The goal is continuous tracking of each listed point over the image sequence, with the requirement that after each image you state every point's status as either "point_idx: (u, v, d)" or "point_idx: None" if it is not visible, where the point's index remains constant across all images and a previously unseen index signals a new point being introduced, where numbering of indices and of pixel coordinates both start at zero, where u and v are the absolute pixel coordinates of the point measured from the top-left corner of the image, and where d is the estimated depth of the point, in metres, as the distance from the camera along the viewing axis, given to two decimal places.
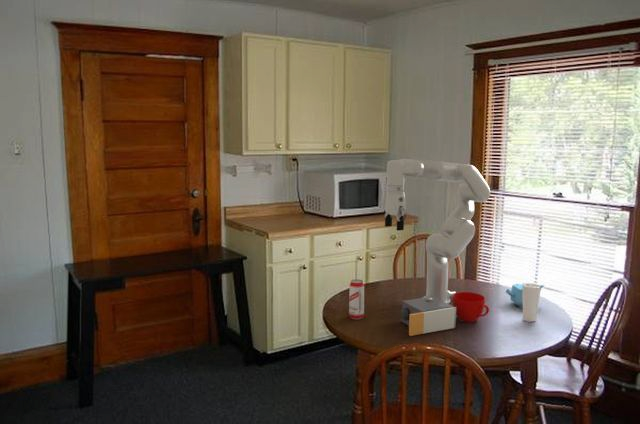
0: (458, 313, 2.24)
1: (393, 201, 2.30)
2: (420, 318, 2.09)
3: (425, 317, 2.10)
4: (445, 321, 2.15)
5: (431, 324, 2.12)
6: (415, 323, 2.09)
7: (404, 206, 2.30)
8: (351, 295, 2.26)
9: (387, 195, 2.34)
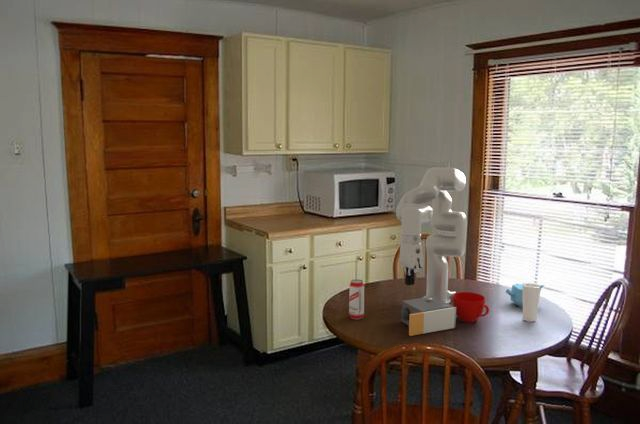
0: (458, 313, 2.24)
1: (409, 253, 2.06)
2: (420, 318, 2.09)
3: (425, 317, 2.10)
4: (445, 321, 2.15)
5: (431, 324, 2.12)
6: (415, 323, 2.09)
7: (421, 258, 2.07)
8: (351, 295, 2.26)
9: (402, 245, 2.11)
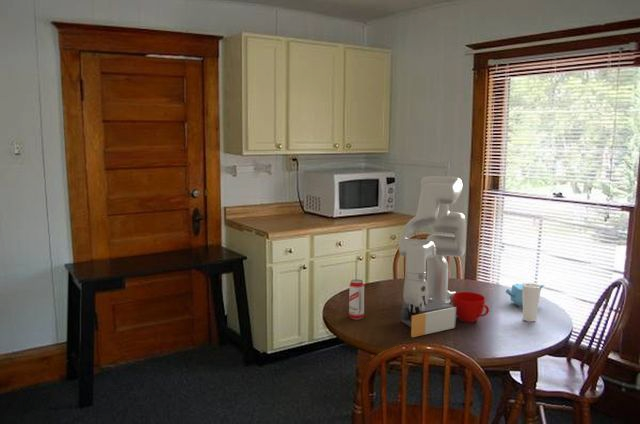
0: (458, 313, 2.24)
1: (414, 290, 2.05)
2: (422, 319, 2.08)
3: (427, 318, 2.09)
4: (446, 321, 2.14)
5: (432, 325, 2.11)
6: (417, 324, 2.08)
7: (426, 295, 2.06)
8: (351, 295, 2.26)
9: (406, 282, 2.09)
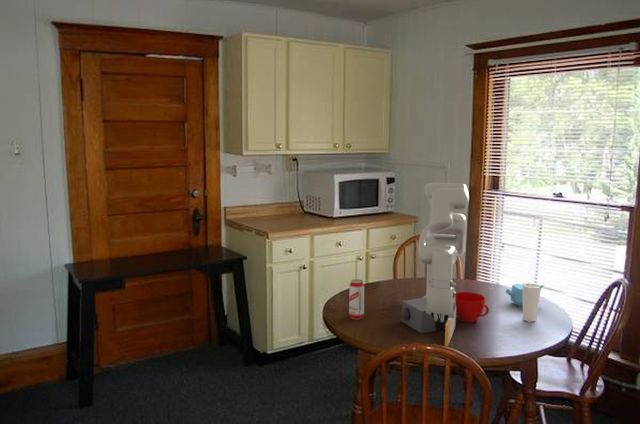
0: (458, 313, 2.24)
1: (446, 298, 1.96)
2: (449, 326, 2.01)
3: (450, 324, 2.03)
4: (453, 323, 2.12)
5: (451, 330, 2.06)
6: (448, 332, 1.99)
7: (455, 302, 1.99)
8: (351, 295, 2.26)
9: (432, 291, 1.98)
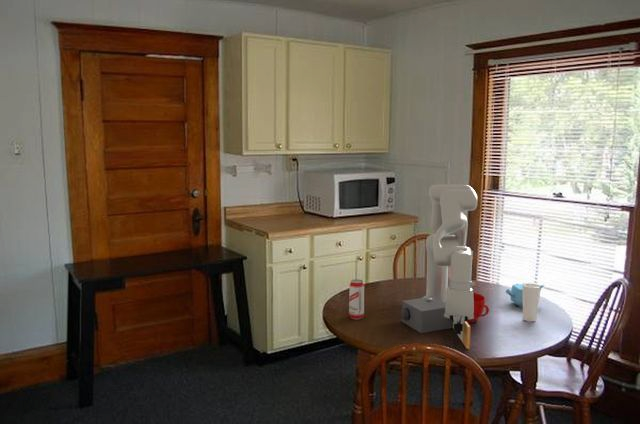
0: None
1: (468, 300, 1.94)
2: None
3: None
4: None
5: None
6: None
7: None
8: (351, 295, 2.26)
9: (453, 294, 1.95)
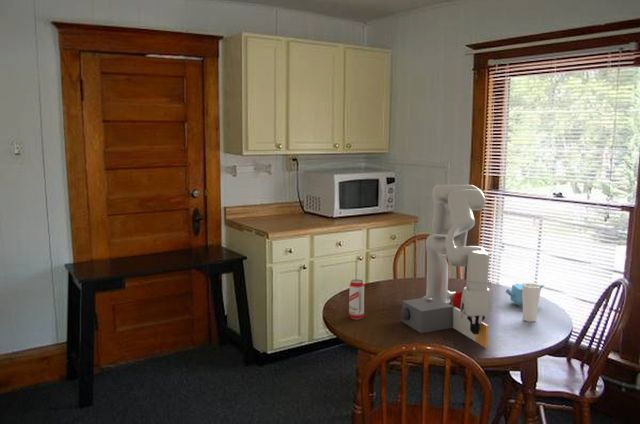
0: None
1: (486, 299, 1.95)
2: None
3: None
4: None
5: None
6: None
7: None
8: (351, 295, 2.26)
9: (473, 295, 1.94)
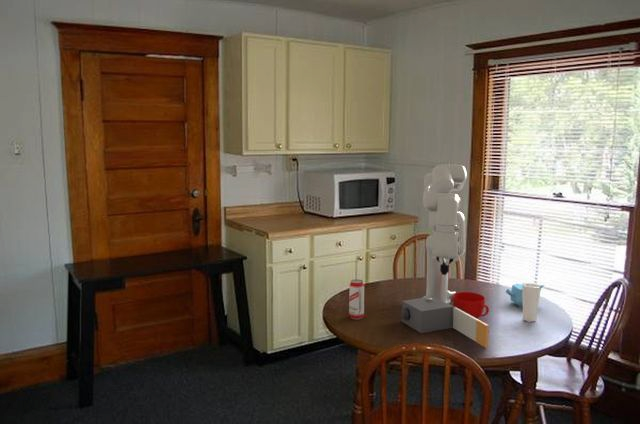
0: None
1: (451, 242, 2.07)
2: None
3: None
4: None
5: None
6: None
7: (459, 246, 2.10)
8: (351, 295, 2.26)
9: (438, 236, 2.09)
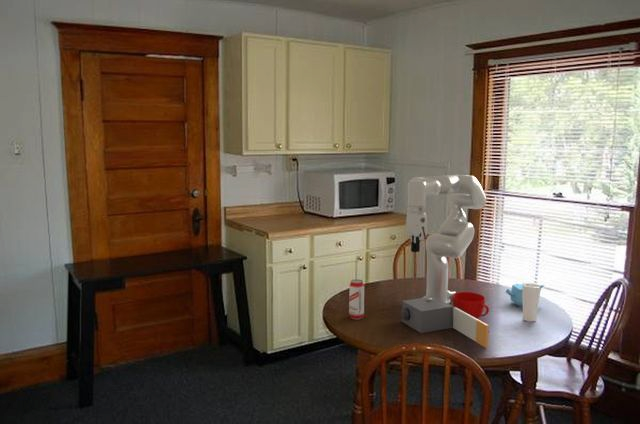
0: None
1: (415, 222, 2.27)
2: None
3: None
4: None
5: None
6: None
7: (426, 227, 2.27)
8: (351, 295, 2.26)
9: (408, 215, 2.31)
